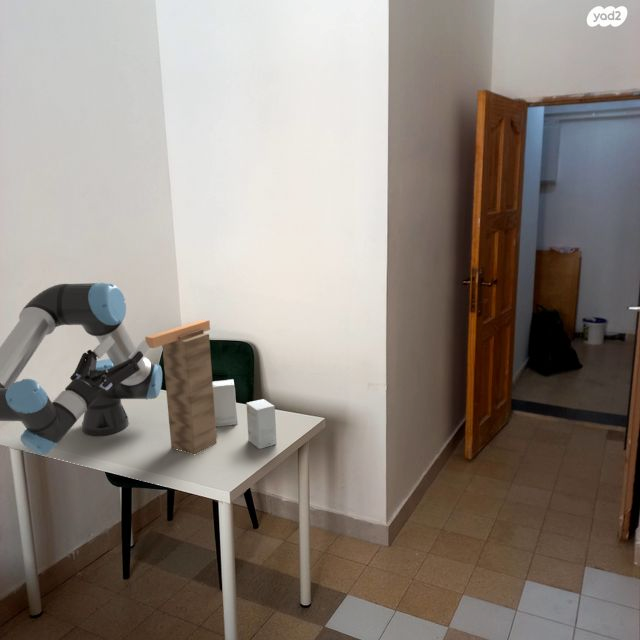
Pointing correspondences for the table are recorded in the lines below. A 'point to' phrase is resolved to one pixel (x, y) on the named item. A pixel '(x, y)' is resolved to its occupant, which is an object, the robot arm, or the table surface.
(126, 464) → the table surface
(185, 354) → the post
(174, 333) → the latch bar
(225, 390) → the skincare box
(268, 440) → the small box
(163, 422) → the table surface
